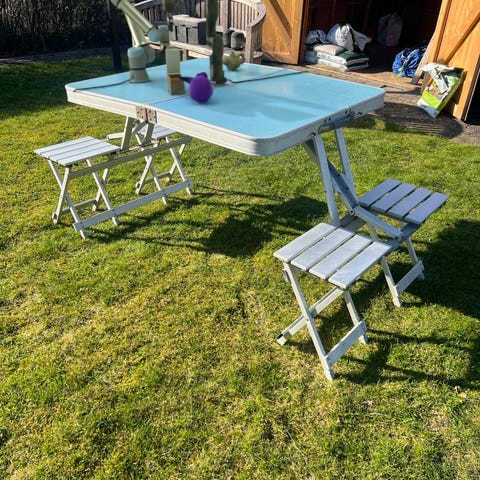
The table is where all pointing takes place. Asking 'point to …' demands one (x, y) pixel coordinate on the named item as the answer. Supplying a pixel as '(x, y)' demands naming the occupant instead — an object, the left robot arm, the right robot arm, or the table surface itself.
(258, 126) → the table surface
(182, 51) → the left robot arm
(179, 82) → the chest
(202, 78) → the toy
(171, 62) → the lid
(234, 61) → the teapot
